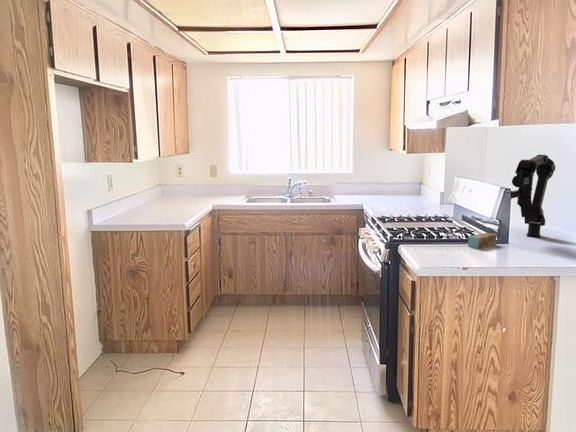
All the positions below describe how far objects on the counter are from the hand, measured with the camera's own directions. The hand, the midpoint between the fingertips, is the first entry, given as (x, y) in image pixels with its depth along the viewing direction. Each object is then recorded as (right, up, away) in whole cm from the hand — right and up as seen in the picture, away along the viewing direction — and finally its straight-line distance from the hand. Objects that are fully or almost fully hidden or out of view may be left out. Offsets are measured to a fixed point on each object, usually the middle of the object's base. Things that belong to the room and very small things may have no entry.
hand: (522, 217), depth 247 cm
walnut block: (-18, -11, -5) cm, 21 cm away
